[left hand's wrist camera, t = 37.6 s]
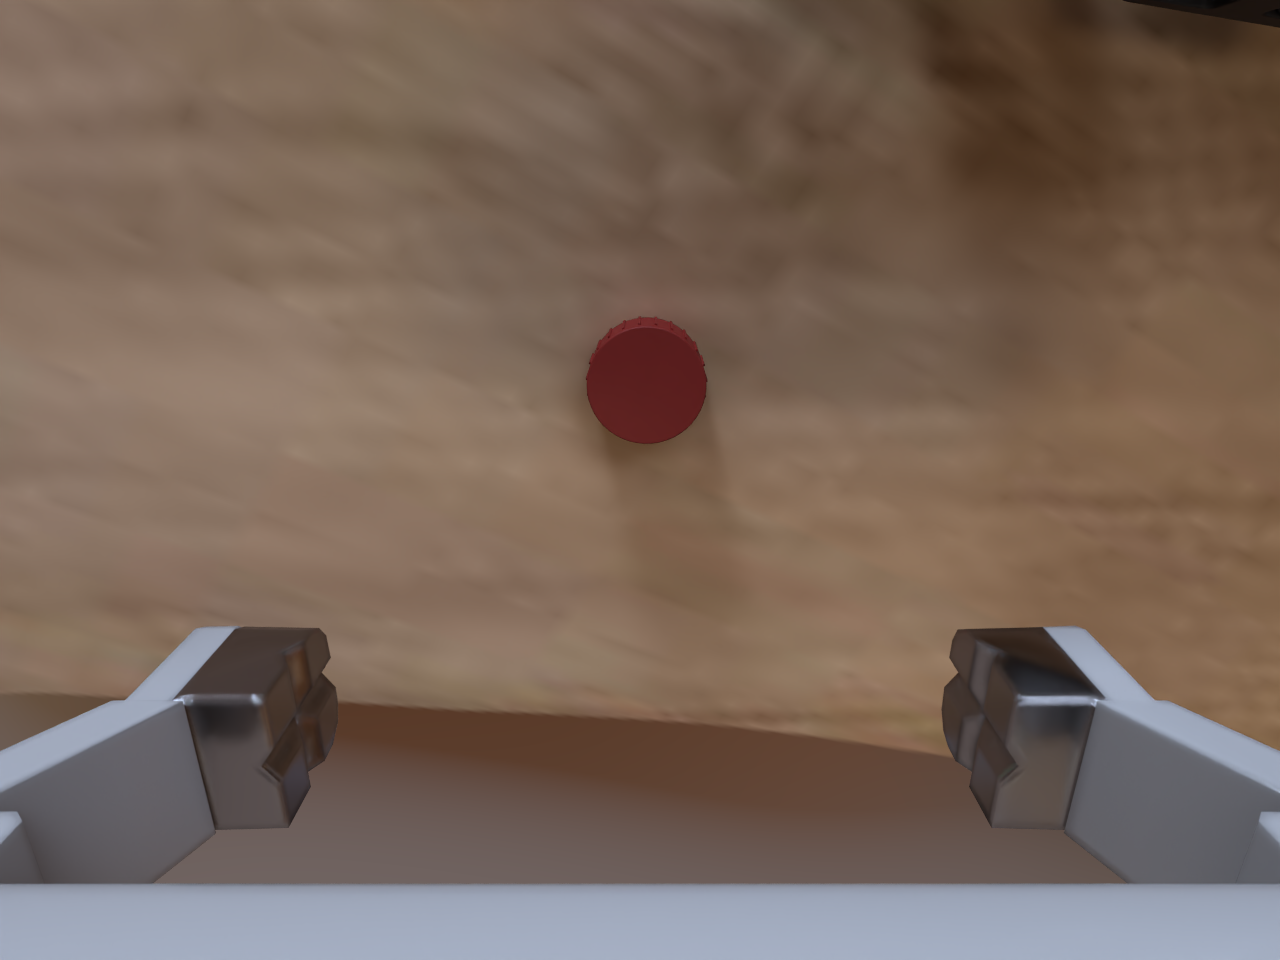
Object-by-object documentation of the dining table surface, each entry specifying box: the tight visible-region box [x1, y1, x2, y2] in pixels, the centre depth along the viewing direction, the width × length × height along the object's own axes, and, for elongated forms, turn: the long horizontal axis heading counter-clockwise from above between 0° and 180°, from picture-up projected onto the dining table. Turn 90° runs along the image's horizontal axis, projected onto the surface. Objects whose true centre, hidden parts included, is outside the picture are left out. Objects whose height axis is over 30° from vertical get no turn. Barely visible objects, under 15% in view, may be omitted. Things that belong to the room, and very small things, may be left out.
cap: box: [586, 316, 707, 444], centre depth 28 cm, size 4×4×2 cm
